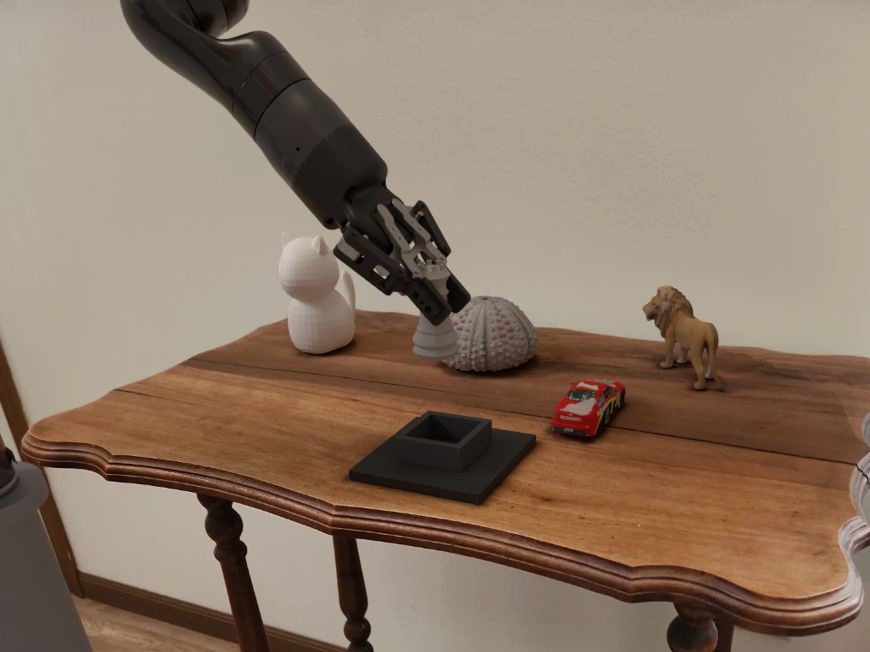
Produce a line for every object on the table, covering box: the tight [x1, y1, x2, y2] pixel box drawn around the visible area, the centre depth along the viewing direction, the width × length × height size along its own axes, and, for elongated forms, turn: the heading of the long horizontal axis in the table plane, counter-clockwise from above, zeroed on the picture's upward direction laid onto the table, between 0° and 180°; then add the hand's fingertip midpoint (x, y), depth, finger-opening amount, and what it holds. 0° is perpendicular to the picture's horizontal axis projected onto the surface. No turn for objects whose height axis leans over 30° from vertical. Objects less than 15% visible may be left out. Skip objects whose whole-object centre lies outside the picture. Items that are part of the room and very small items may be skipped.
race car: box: [551, 377, 627, 438], centre depth 87 cm, size 13×5×4 cm, turn 153°
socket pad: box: [348, 409, 537, 505], centre depth 80 cm, size 14×14×4 cm
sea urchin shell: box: [440, 295, 540, 373], centre depth 102 cm, size 13×14×8 cm
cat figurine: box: [278, 231, 356, 355], centre depth 109 cm, size 9×12×15 cm
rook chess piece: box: [412, 260, 460, 362], centre depth 73 cm, size 4×4×8 cm
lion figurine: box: [641, 285, 728, 390], centre depth 95 cm, size 15×5×9 cm, turn 24°
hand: (454, 312), depth 72 cm, fingers closed on rook chess piece, 3 cm apart
